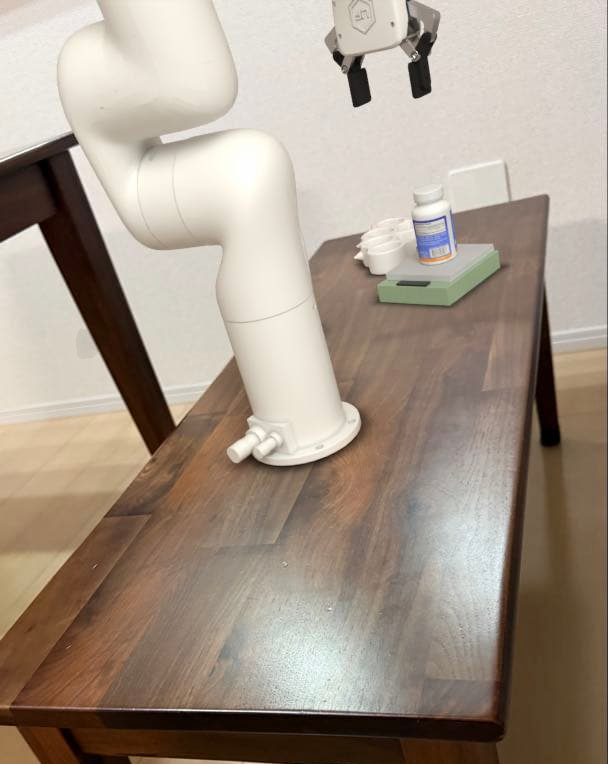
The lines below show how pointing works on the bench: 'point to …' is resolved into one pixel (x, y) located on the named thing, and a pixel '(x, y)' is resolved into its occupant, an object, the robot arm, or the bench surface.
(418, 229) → the pill bottle
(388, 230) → the white compartment tray
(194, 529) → the bench surface
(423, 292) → the scale
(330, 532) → the bench surface
